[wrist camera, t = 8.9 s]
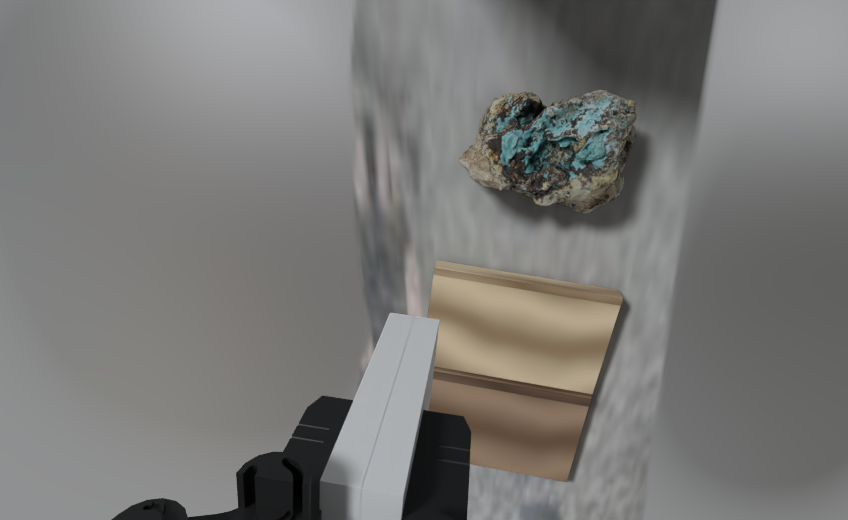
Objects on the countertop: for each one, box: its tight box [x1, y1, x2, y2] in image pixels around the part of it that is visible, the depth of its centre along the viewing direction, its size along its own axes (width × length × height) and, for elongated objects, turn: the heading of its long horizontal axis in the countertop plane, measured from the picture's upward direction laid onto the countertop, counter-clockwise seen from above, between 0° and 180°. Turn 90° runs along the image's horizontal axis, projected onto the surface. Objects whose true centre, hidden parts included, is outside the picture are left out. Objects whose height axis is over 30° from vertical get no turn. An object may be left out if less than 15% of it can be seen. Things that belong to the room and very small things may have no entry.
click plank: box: [427, 260, 623, 394], centre depth 44 cm, size 10×16×2 cm, turn 82°
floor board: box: [428, 366, 592, 482], centre depth 48 cm, size 10×16×2 cm, turn 82°
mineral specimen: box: [459, 90, 636, 214], centre depth 38 cm, size 12×9×8 cm
